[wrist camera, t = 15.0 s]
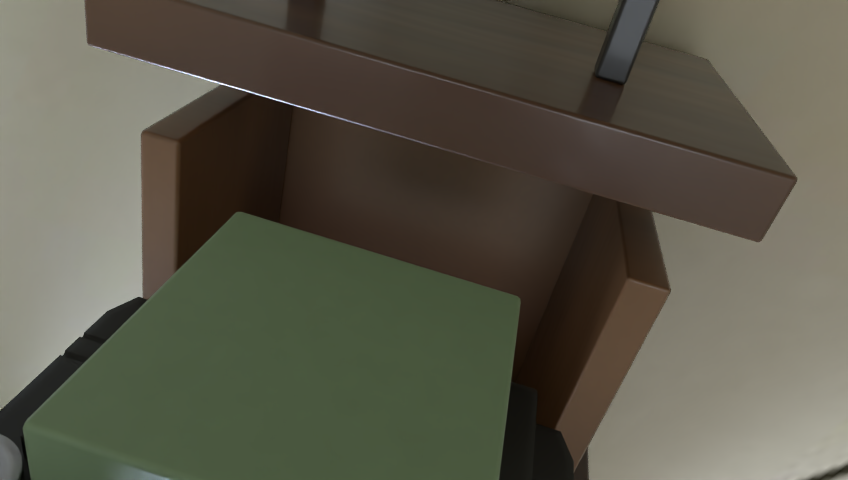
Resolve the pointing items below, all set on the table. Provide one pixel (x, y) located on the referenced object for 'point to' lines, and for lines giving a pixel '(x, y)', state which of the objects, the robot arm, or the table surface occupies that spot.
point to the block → (289, 372)
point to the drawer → (455, 157)
